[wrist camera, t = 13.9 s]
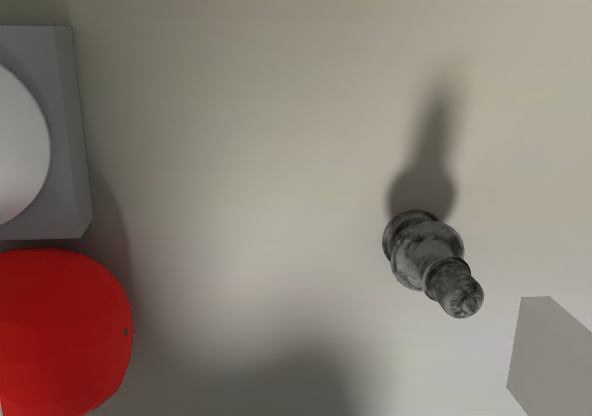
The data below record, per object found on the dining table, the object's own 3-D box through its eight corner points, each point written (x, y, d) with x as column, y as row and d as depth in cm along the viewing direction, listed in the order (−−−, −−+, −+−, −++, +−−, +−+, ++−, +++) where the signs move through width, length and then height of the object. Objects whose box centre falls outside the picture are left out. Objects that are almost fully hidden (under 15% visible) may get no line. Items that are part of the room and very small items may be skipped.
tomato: (151, 271, 46) (-12, 251, 45) (135, 244, 34) (-90, 214, 32) (124, 428, 43) (-54, 413, 41) (94, 459, 31) (-160, 440, 29)
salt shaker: (364, 248, 45) (409, 324, 33) (409, 193, 43) (472, 252, 32) (416, 283, 46) (476, 367, 35) (461, 231, 45) (538, 300, 34)
